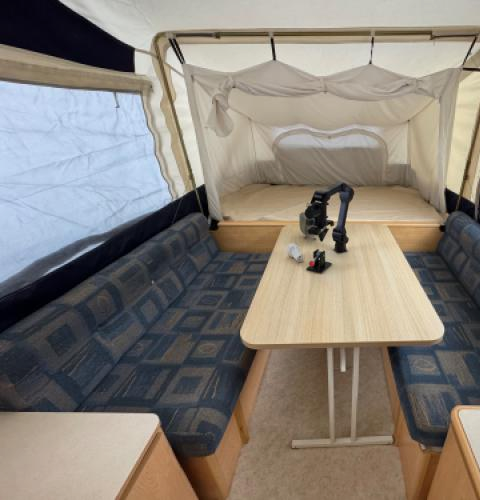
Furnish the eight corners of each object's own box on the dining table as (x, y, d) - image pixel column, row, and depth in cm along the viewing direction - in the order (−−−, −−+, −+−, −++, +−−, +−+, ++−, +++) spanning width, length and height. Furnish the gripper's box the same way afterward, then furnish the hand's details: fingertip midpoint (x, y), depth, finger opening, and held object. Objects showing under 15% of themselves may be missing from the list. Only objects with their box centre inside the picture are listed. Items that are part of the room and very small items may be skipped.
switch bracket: (320, 274, 141) (320, 257, 137) (306, 269, 145) (306, 253, 141) (331, 264, 150) (331, 249, 146) (318, 261, 154) (318, 245, 150)
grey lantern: (318, 240, 182) (317, 205, 171) (305, 242, 179) (304, 206, 168) (311, 233, 194) (310, 199, 183) (299, 234, 191) (298, 200, 180)
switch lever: (313, 268, 138) (312, 264, 136) (308, 266, 140) (307, 262, 138) (323, 255, 145) (322, 251, 143) (318, 254, 147) (317, 250, 145)
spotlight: (298, 251, 163) (296, 240, 158) (307, 261, 156) (305, 250, 151) (286, 256, 160) (284, 245, 155) (295, 266, 153) (293, 256, 147)
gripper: (317, 208, 152) (318, 233, 159) (298, 216, 137) (299, 244, 144) (334, 211, 147) (334, 237, 154) (316, 220, 132) (317, 248, 139)
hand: (321, 241), depth 148 cm, fingers closed
